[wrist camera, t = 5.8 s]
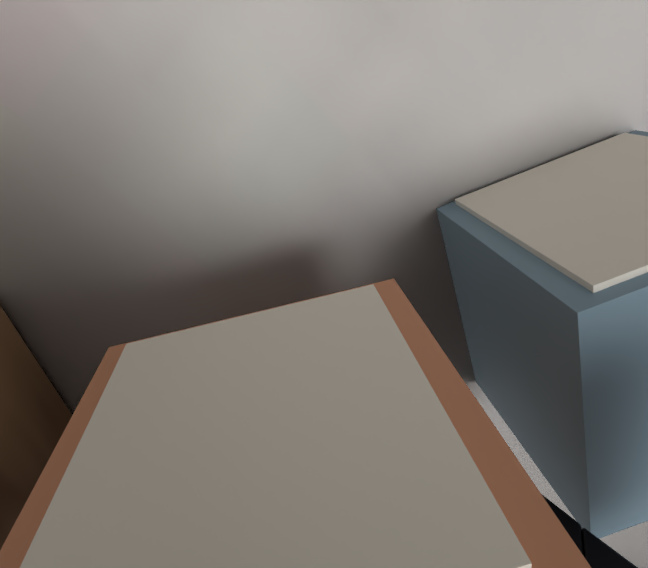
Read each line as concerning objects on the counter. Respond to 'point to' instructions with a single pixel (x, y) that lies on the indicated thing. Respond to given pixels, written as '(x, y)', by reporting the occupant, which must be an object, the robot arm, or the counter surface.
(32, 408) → the bracket
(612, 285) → the light blue block
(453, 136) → the counter surface
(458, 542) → the rust book
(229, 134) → the counter surface
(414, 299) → the counter surface
